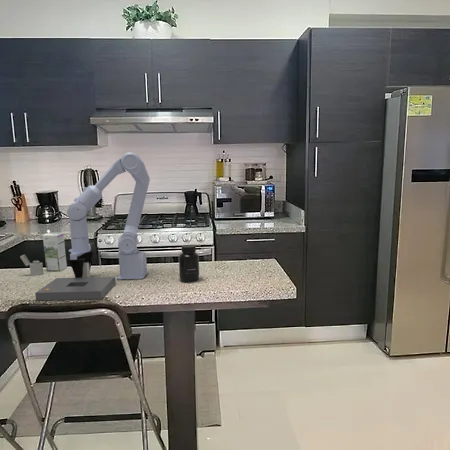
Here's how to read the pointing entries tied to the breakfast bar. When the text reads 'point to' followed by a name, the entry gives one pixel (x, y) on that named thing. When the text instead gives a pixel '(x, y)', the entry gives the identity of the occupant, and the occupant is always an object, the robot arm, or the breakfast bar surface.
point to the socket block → (76, 288)
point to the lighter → (33, 266)
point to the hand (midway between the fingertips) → (83, 274)
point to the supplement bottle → (189, 264)
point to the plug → (86, 270)
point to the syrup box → (54, 251)
